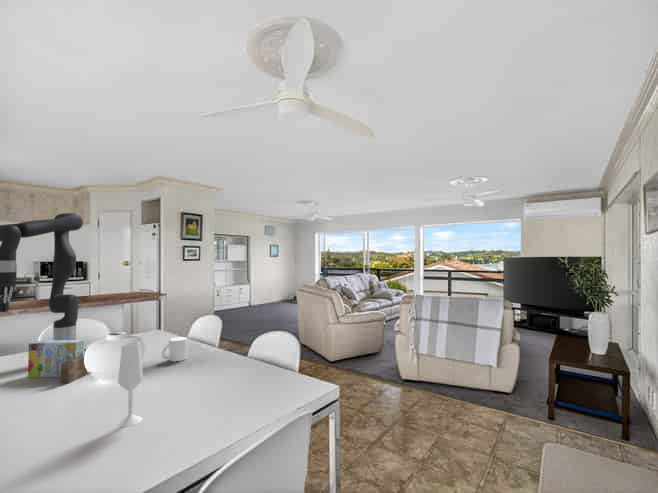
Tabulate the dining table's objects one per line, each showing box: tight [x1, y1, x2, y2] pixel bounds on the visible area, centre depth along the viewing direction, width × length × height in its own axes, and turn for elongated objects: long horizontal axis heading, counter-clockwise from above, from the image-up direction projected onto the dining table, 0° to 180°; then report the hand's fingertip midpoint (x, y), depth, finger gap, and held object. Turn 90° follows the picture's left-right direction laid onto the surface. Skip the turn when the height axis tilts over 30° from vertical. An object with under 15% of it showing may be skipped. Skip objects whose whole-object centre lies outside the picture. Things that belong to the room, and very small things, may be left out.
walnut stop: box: [60, 347, 90, 385], centre depth 148 cm, size 15×3×11 cm, turn 179°
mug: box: [161, 336, 188, 363], centre depth 171 cm, size 8×10×12 cm
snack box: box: [27, 339, 85, 378], centre depth 151 cm, size 21×6×15 cm, turn 89°
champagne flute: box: [117, 341, 144, 428], centre depth 107 cm, size 7×7×24 cm
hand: (4, 311), depth 146 cm, fingers closed
